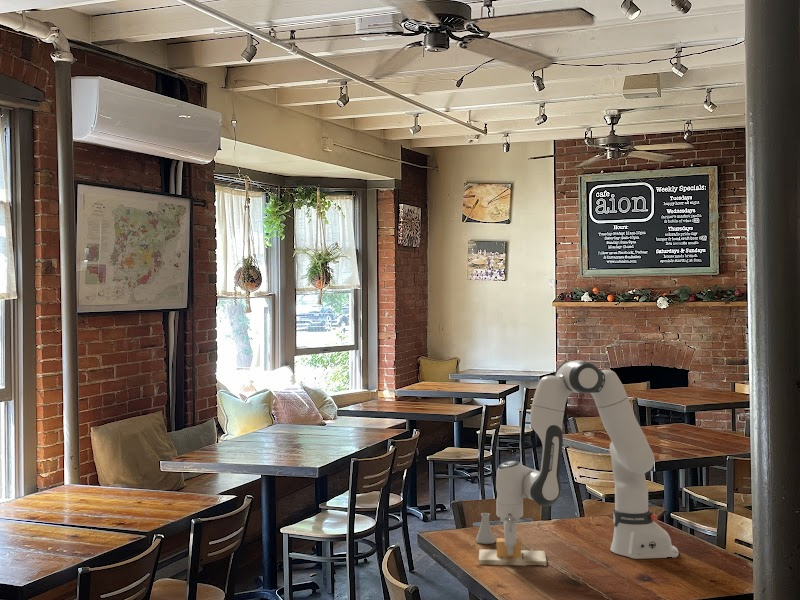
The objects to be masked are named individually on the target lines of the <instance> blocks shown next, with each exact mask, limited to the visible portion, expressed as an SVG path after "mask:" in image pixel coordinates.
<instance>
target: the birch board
mask: <svg viewBox="0 0 800 600" xmlns="http://www.w3.org/2000/svg"><path fill="white" fill-rule="evenodd" d="M478 565H485V566H488V565H489V566H526V565H544V566H543V567H545V566H547V565H548V564H547V558H546V552H545V550H531V549H530V550H524V549H521V557H497V549H485V548H484V549H479V551H478Z"/></svg>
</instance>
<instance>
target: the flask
mask: <svg viewBox="0 0 800 600" xmlns="http://www.w3.org/2000/svg"><path fill="white" fill-rule="evenodd" d="M480 516H481V522H480V527H479V529H478V532H477V535H476V537H475V538H476V539H475V542H476V544H483V545H489V544H494V543H497V540H496V538H495V536H494V534H493V531H492V530H493V529H492V527H491V523H490V516H491V513H488V512H482V513H481V514H480Z"/></svg>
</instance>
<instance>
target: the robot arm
mask: <svg viewBox="0 0 800 600" xmlns="http://www.w3.org/2000/svg"><path fill="white" fill-rule="evenodd" d="M573 393H574V394H590V395H591V397H592V398H593V400H594V403H595V406H596V408H597V412H598V414H599V417H600V419H601V423H602V424H603V427H604V428H603V429H604V430H605V432H606V433H607V435H608V437H609V438H610V444H609V454H610V462H611V469H612V476H613V482H614V509H613V514H612V515H613V517H612V518H613V519H612V521H613V526H614V528H613V536H612V537H613V538H612V541H611V546H610V547H609V549H610V551H611V552H613V554H617V555H619V556H620V555H621V556H623V557H627V558H630V559H635V560H636V559H638V560H639V559H643V560H644V559H663V558H664V559H665V558H666V559H667V557H672V558H677V557H679V550H678V548H677V547H676V546H674V545H672V539H671V537H670V536H671V535H670V534H669V532H668V531H666V530H665V529H664V528H663V527H662V526H660V525H659V524H657V522H656V521H657V520H658V516H657V514H655V513H654V512H653V511H651V510H649V485H648V484H647V480H646V473H648V472H650V471H651V470H652V469H653V467H654V465H655V461H656V459H655V458H656V457H655V455H654V452H653V450H652V448H651V447H650V444H649V442H648V440H647V437H646V435H645V434H644V432H643V429H642V428H641V426H640V424H639V422H638V420H637V417H636V415H635V413H634V412H635V411H634V410H633V408H632V405H631V401H630V400H629V397H628V393H627V391H626V390H625V387H624V385H623V383H622V381H621V380H620V378H619V376H618V375H617V373H616V372H615V371H613V370H611V369H602V370H601V369H599V368H598V366H596V365H595V364H593V362H592V363H591V362H590V361H585V360H582V359H580V360H579V359H577V360H576V359H575V360H567V361H566V360H565V361H564V362H562V363H561V364H560V365H559V366H558V368H556V370H555V372H554V373H553V374H551V375H550V374H549V375H545V376H543V377H541V378H540V379H539V381H538V384H537V386H536V389H535V391H534V394H533V398H532V404H531V407H530V413H529V414H530V415H529V417H530V418H529V419H530V420H529V422H530V426H531V428H532V429H533V430H534V432H535V433H536V434H537V436H538V438H539V439H540V441H541V444H542V454H541V463H540V470H537V469H534V468H530V467H528V466H526V465H523V464H522V463H521V462H520V461H517V460H508V461H504V462H502V463H501V464H499V465H498V467H497V469H496V476H495V490H496V492H497V494H496V496H497V497H496V500H495V501H496V503H495V505H496V506H495V507H496V511H495V512H496V517H498V518H500V519H499V520H500V522H502V523H503V529H504V532H503V533H504V535H503V536H504V538H505V545H506V546H507V549H508V555H513V546H515V545H516V538H517V525H516V523H519V521H520V519H521V518H522V517H523V516H524V499H527V498H528V499H529V500H532V501H534V502H535V503H536V504H538V505H539V506H542V507H550V506H553V505H554V504H555V503H556V502H557V501H559V499H560V497H561V494H562V483H561V476H560V475H561V474H560V472H561V464H562V454H563V453H562V452H563V445H564V444H563V443H564V442H563V441H564V437H563V423H564V415H565V411H566V403H567V400H568V398H569V397H570V395H571V394H573Z"/></svg>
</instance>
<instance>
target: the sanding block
mask: <svg viewBox="0 0 800 600" xmlns="http://www.w3.org/2000/svg"><path fill="white" fill-rule="evenodd" d="M521 539H522V538H517V537H516V545H515V546H513V555H508V549H507V546H506V545H505V537H496V550H497V557H521V550H522V540H521Z"/></svg>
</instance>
